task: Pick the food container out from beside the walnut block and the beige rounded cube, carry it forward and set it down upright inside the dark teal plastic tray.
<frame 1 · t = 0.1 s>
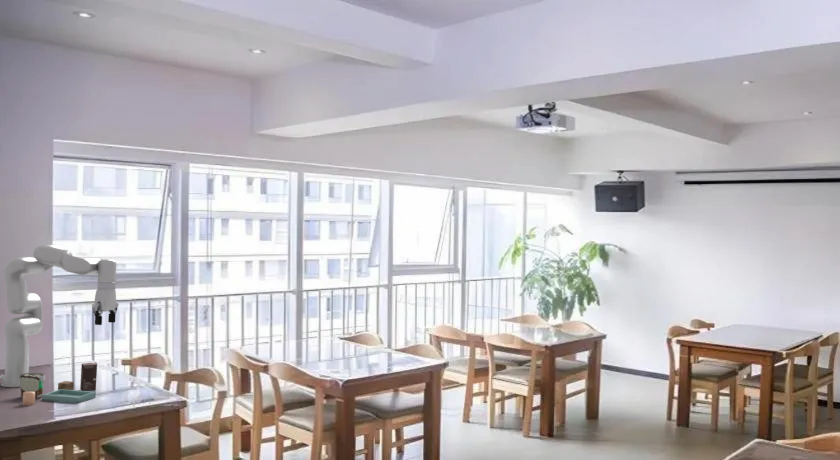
hand: (105, 323, 313), 31 cm above the table, fingers open, 9 cm apart
beige rounded cube: (28, 404, 287), on the table
food container: (34, 397, 300), on the table
tray: (69, 398, 298), on the table
box: (88, 390, 316), on the table
walnut block: (65, 392, 310), on the table
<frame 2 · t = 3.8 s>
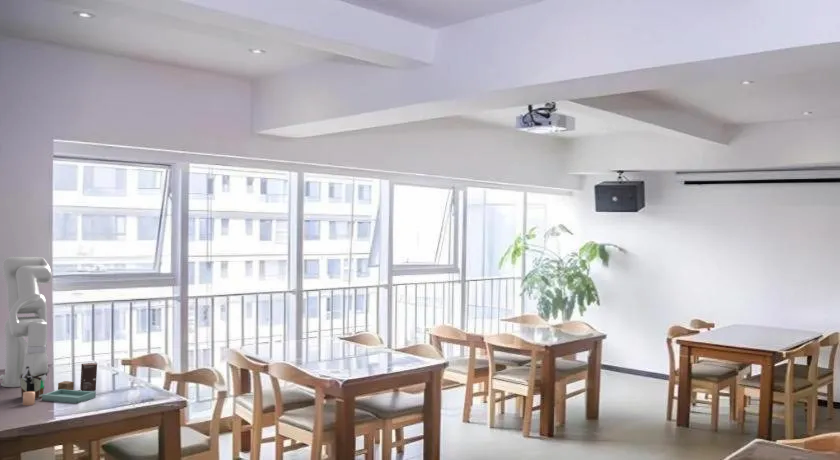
hand: (35, 390, 300), 3 cm above the table, fingers closed on food container, 5 cm apart
food container: (35, 396, 301), on the table, touching gripper
everything else where it was.
when the fingers open (5 cm above the table, at t = 9.0 s): food container drops 1 cm, resting on tray.
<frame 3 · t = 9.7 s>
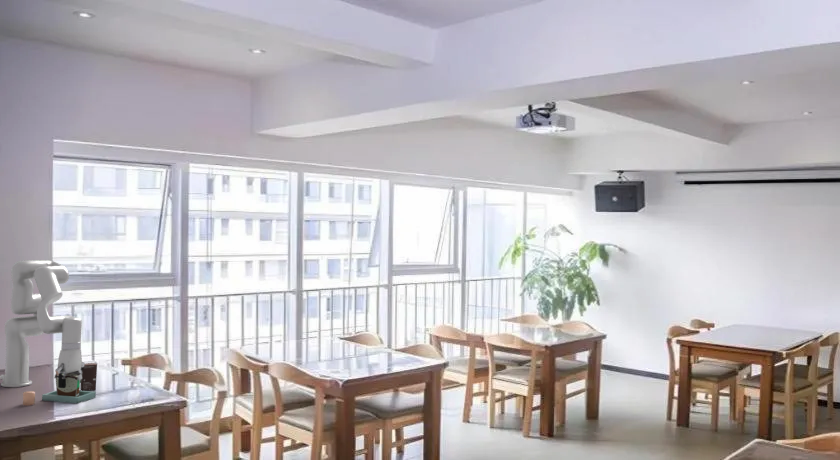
hand: (69, 385, 298), 6 cm above the table, fingers open, 9 cm apart
food container: (71, 396, 300), point 1 cm above the table, touching gripper, tray
everything else where it was.
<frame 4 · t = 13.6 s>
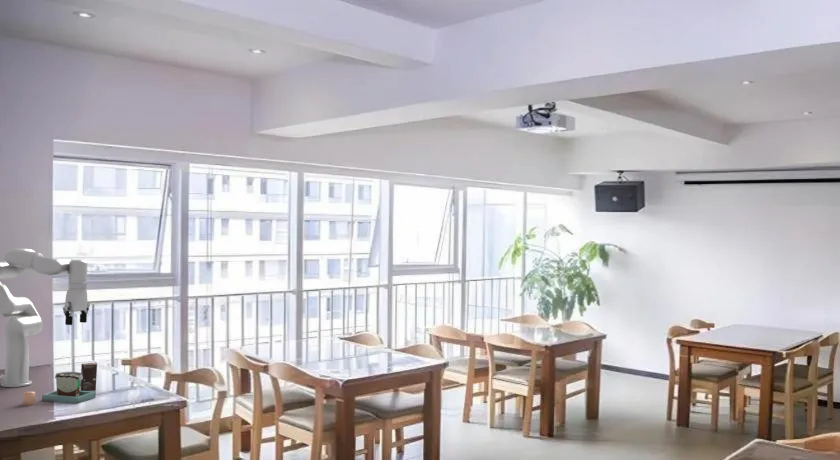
hand: (76, 323, 316), 30 cm above the table, fingers open, 9 cm apart
food container: (71, 396, 300), point 1 cm above the table, touching tray
everything else where it was.
at the end: food container inside the target area on the tray (1.8 cm from its centre), point 0.6 cm above the tray's base; food container tilted 0°; food container touching tray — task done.
